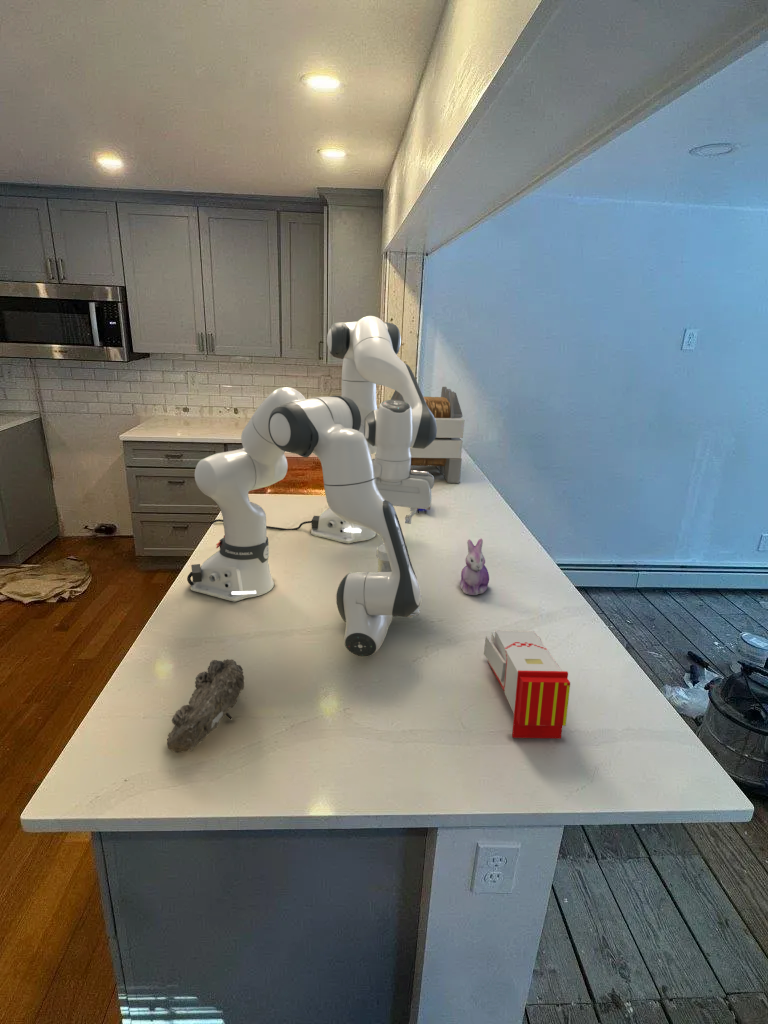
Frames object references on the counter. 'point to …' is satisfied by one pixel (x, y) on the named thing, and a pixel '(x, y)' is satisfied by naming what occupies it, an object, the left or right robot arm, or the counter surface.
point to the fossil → (206, 705)
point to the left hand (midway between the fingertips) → (387, 585)
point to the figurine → (474, 571)
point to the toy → (529, 683)
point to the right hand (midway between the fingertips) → (389, 521)
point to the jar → (384, 566)
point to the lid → (382, 553)
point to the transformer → (442, 436)
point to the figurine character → (422, 510)
